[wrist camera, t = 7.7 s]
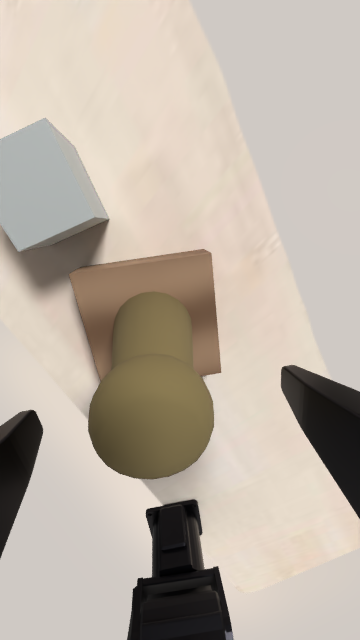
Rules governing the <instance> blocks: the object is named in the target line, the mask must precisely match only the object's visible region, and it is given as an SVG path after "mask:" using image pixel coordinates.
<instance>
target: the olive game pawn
mask: <svg viewBox="0 0 360 640" xmlns="http://www.w3.org/2000/svg"><path fill="white" fill-rule="evenodd" d="M213 428H214V411H213V401H212V398H211V395H210V392H209V390H208V388H207V386H206V384H205V382H204V380H203V379H202V378H201V376H200V375H199V374H198V373H197V372H196V371H195V370H194V366H193V339H192V323H191V317H190V315H189V313H188V311H187V309H186V307H185V306H184V305H183V304H182V303H181V302H180V301H179V300H178V299H176V298H174V297H172V296H170V295H168V294H166V293H160V292H155V291H153V292H145V293H140V294H138V295H136V296H134V297H131V298H129V299H128V300H127V301H126V302H125V303H124V304H123V305H122V306H121V307H120V309H119V311H118V313H117V315H116V316H115V320H114V328H113V347H112V366H111V371H110V372H109V373H108V374H107V375H106V376H105V377H104V378H103V379H102V381H101V383H100V384H99V386H98V388H97V390H96V392H95V394H94V396H93V398H92V401H91V404H90V410H89V420H88V431H89V434H90V438H91V441H92V444H93V447H94V449H95V451H96V452H97V454H98V456H99V457H100V458H101V459H102V460H103V462H104V463H105V464H106V465H107V466H108V467H110V468H111V469H113V470H115V471H116V472H118V473H120V474H123V475H126V476H129V477H133V478H138V479H157V478H163V477H169V476H171V475H174V474H176V473H178V472H181V471H183V470H185V469H186V468H188V467H189V466H190V465H192V464H193V463H194V462H196V461H197V460H198V458H199V457H200V456H201V454H202V453H203V452H204V450H205V449H206V447H207V445H208V443H209V440H210V437H211V434H212V431H213Z"/></svg>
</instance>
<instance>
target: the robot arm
mask: <svg viewBox="0 0 360 640" xmlns="http://www.w3.org/2000/svg"><path fill="white" fill-rule="evenodd" d="M281 388H282V391H283V393H284V395H285V397H286V399H287V401H288V403H289V405H290V407H291V409H292V411H293V413H294V415H295V417H296V419H297V421H298V423H299V425H300V427H301V429H302V430H303V432H304V433H305V435H306V437H307V438H308V440H309V441H310V443H311V444H312V446H313V447H314V449H315V451H316V452H317V454H318V455H319V457H320V458H321V460H322V461H323V463H324V464H325V466H326V468H327V469H328V471H329V472H330V474H331V475H332V477H333V478H334V480H335V481H336V483H337V484H338V486H339V488H340V489H341V491H342V492H343V494H344V495H345V497H346V498H347V500H348V501H349V503H350V505H351V506H352V508H353V509H354V511H355V512H356V514H357V515H358V517H359V518H360V392H359V391H357V390H354V389H352V388H350V387H347V386H345V385H342V384H340V383H337V382H335V381H332V380H330V379H327V378H325V377H322V376H320V375H317V374H315V373H312V372H310V371H307V370H305V369H303V368H300V367H298V366H295V365H289V366H284V367H282V370H281ZM42 435H43V428H42V425H41V422H40V420H39V418H38V416H37V414H36V412H35V411H34V410H28V411H22V412H20V413H18V414H17V415H15V416H14V417H13V418H11V419H10V420H9V421H7V422H6V423H4V424H3V425H1V426H0V558H1V555H2V552H3V550H4V547H5V545H6V542H7V539H8V536H9V534H10V531H11V529H12V526H13V523H14V521H15V518H16V516H17V513H18V510H19V508H20V505H21V502H22V500H23V497H24V494H25V492H26V489H27V487H28V484H29V481H30V478H31V474H32V471H33V468H34V464H35V460H36V457H37V453H38V450H39V446H40V442H41V439H42ZM146 518H147V521H148V525H149V528H150V532H151V535H152V539H153V541H152V546H153V547H152V551H153V552H152V577H151V578H145V579H143V578H138V581H137V586H136V587H135V588H134V589H133V598H132V612H131V619H130V625H129V632H128V638H127V640H233V633H232V627H231V622H230V617H229V612H228V607H227V603H226V599H225V594H224V590H223V586H222V581H221V577H220V572H219V568H218V566H216V567H213V568H211V569H204V563H203V557H202V549H201V542H200V535H201V534H202V526H201V520H200V514H199V508H198V502H197V501H196V500H191V501H186V502H181V503H176V504H170V505H165V506H160V507H155V508H150V509H147V510H146Z"/></svg>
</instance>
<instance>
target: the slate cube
mask: <svg viewBox="0 0 360 640" xmlns="http://www.w3.org/2000/svg"><path fill="white" fill-rule="evenodd" d="M108 219H109V217H108V215H107V213H106V211H105V209H104V207H103V204H102V202H101V200H100V198H99V196H98V194H97V192H96V190H95V188H94V186H93V184H92V182H91V179H90V177H89V175H88V173H87V171H86V169H85V167H84V165H83V163H82V161H81V159H80V157H79V155H78V152H77V150H76V148H75V146H74V145H73V144H72V143H71V142H70V141H69V140H68V139H67V138H66V137H65V136H64V135H63V134H62V133H61V132H59V131H58V130H57V129H56V128H55V127H54V126H53V125H52V124H51V123H50V122H49V121H48V120H47V119H46V118H43V119H41V120H39V121H37V122H35V123H33V124H31V125H29V126H27V127H25V128H23V129H20V130H18V131H16V132H14V133H12V134H10V135H8V136H6V137H4V138H2V139H0V224H1V226H2V228H3V229H4V231H5V232H6V234H7V235H8V237H9V238H10V240H11V241H12V243H13V245H14V246H15V248H16V249H17V251H18V252H20V251H25V250H30V249H35V248H40V247H45V246H50V245H53V244H55V243H57V242H59V241H62V240H64V239H66V238H68V237H70V236H73V235H75V234H77V233H79V232H82V231H84V230H86V229H88V228H90V227H93V226H95V225H97V224H99V223H102V222H104V221H106V220H108Z"/></svg>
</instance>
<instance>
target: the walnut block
mask: <svg viewBox="0 0 360 640" xmlns="http://www.w3.org/2000/svg"><path fill="white" fill-rule="evenodd" d="M69 277H70V280H71V283H72V287H73V290H74V293H75V297H76V300H77V303H78V307H79V310H80V314H81V317H82V320H83V324H84V327H85V330H86V334H87V337H88V340H89V344H90V347H91V350H92V354H93V357H94V361H95V364H96V367H97V371H98V374H99V377H100V381H102V379H103V378H104V377H105V376H106V375H107V374H108V373H109V372H110V371H111V366H112V347H113V328H114V320H115V316H116V315H117V313H118V311H119V309H120V307H121V306H122V305H123V304H124V303H125V302H126V301H127V300H128V299H129V298H131V297H134V296H136V295H138V294H140V293H145V292H153V291H155V292H160V293H166V294H168V295H170V296H172V297H174V298H176V299H178V300H179V301H180V302H181V303H182V304H183V305H184V306H185V307H186V309H187V311H188V313H189V315H190V317H191V323H192V339H193V366H194V370H195V371H196V372H197V373H198V374H199V375H200V376H204V375H210V374H216V373H221V364H220V352H219V340H218V328H217V316H216V304H215V292H214V280H213V268H212V256H211V253H210V252H208V251H206V250H204V249H201V250H194V251H188V252H181V253H174V254H167V255H160V256H154V257H147V258H140V259H133V260H127V261H120V262H113V263H106V264H99V265H93V266H86V267H80V268H79V269H77V270H75V271H73V272H72V273H70V274H69Z"/></svg>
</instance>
